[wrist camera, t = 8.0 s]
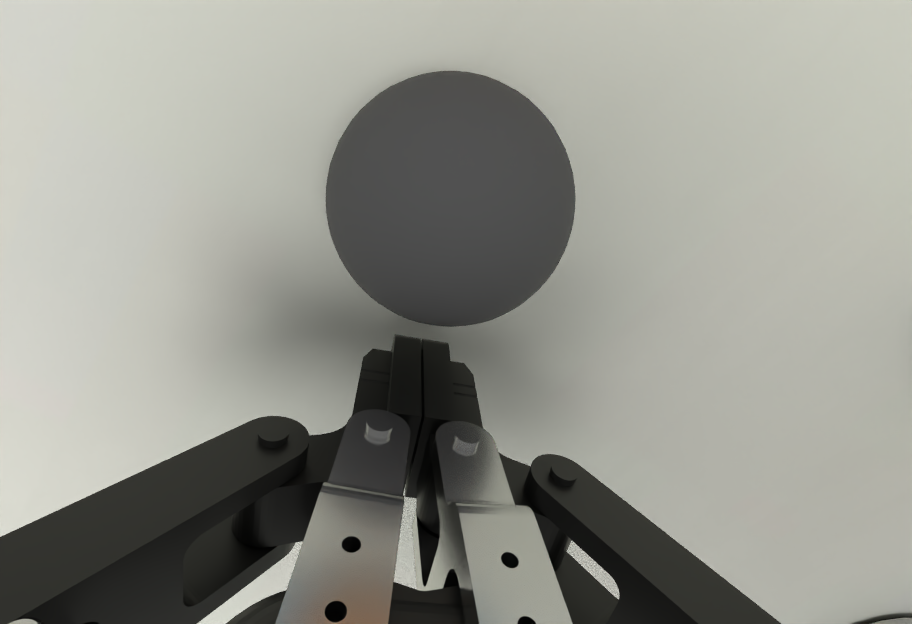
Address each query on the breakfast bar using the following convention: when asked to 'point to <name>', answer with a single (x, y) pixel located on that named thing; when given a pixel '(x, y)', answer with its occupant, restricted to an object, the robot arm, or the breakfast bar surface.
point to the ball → (450, 198)
